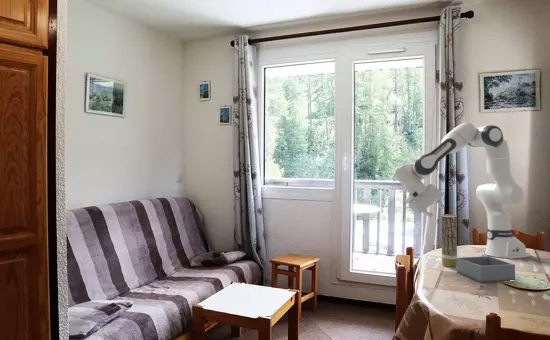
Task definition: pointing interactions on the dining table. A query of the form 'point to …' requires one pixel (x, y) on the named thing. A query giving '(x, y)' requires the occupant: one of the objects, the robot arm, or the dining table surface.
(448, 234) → the wooden log
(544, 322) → the dining table surface
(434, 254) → the dining table surface
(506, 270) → the box
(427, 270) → the dining table surface
